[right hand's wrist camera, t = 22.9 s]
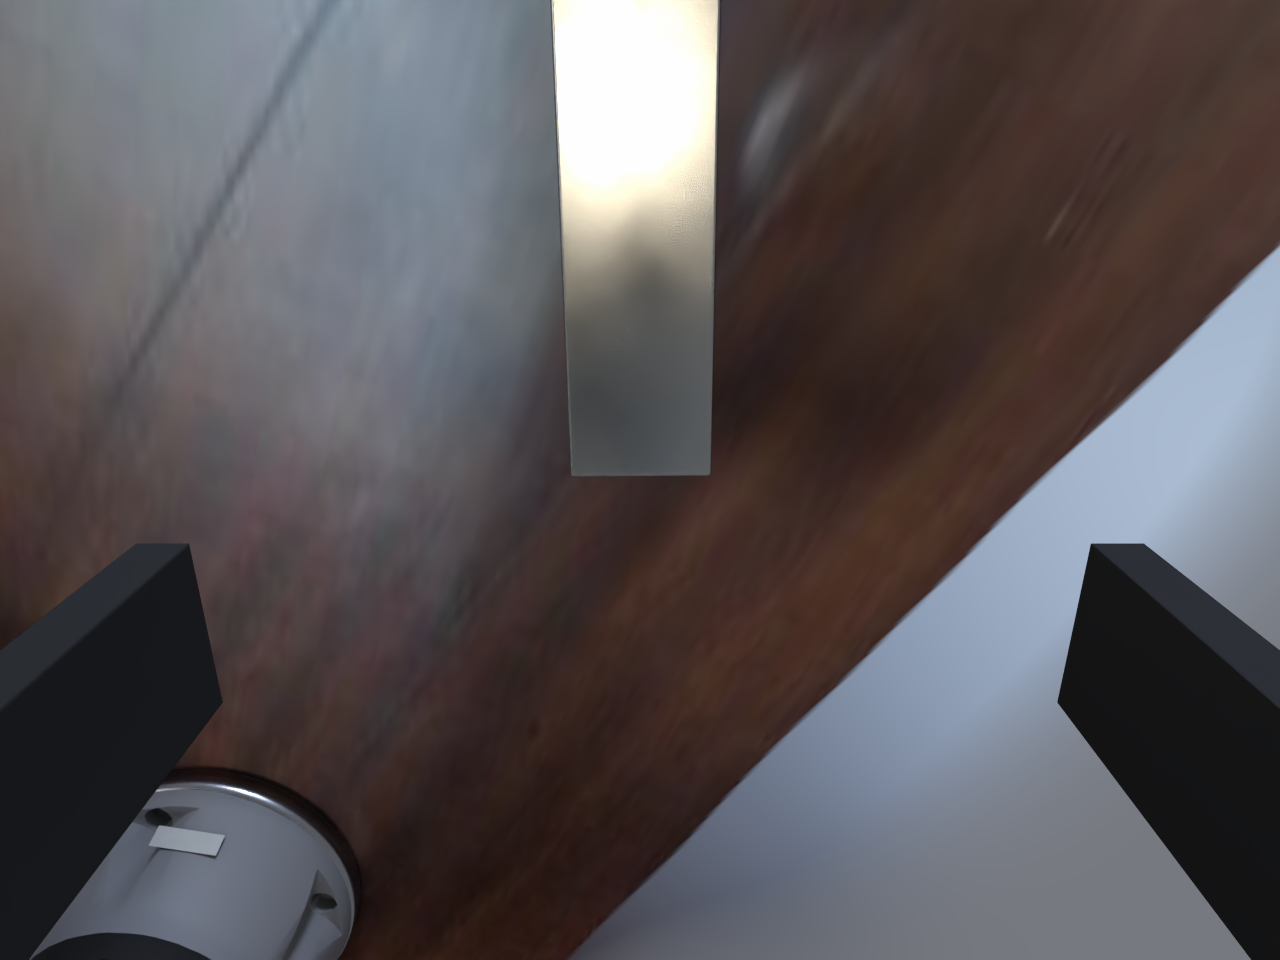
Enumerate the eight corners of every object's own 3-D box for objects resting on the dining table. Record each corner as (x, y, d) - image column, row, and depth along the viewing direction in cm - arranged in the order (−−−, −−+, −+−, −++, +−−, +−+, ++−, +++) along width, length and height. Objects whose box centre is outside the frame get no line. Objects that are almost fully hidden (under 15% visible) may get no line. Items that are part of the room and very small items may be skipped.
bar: (695, 402, 38) (711, 476, 29) (586, 403, 38) (570, 477, 29) (705, -359, 28) (733, -579, 20) (559, -358, 28) (525, -577, 20)
